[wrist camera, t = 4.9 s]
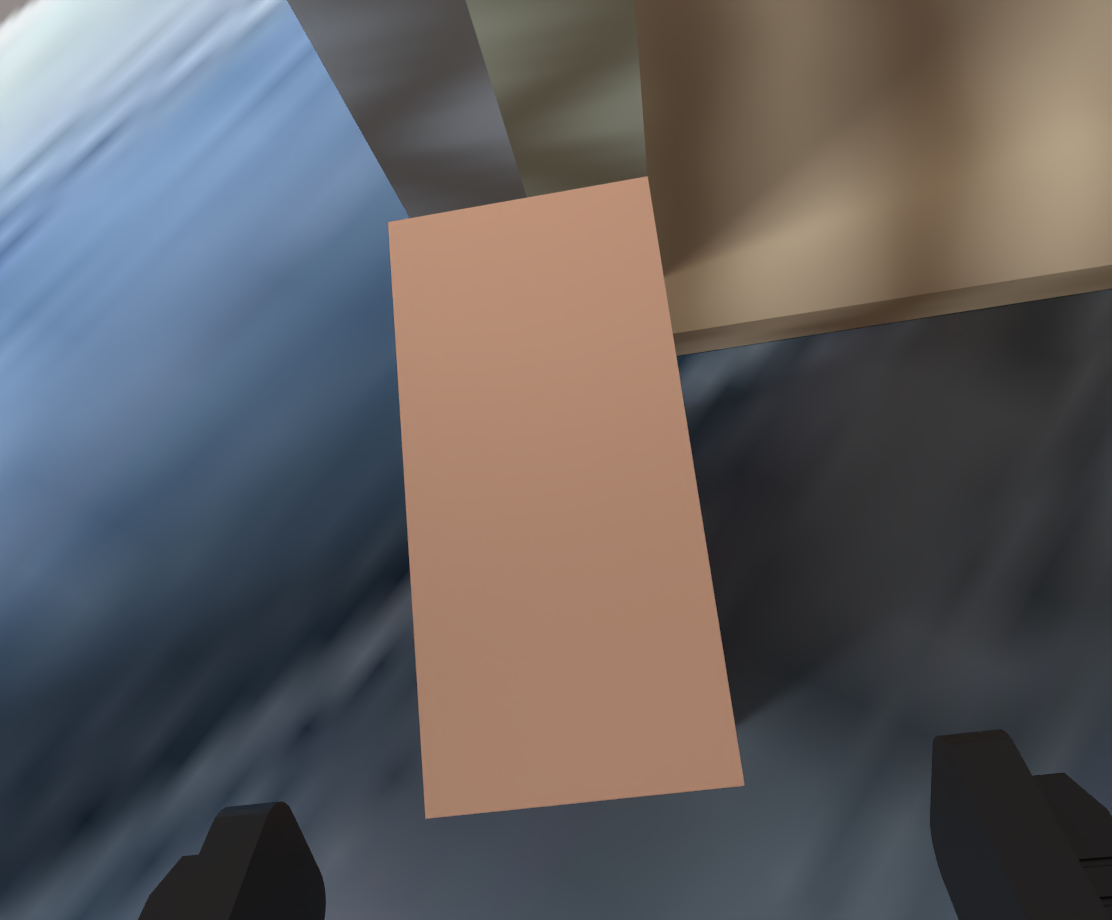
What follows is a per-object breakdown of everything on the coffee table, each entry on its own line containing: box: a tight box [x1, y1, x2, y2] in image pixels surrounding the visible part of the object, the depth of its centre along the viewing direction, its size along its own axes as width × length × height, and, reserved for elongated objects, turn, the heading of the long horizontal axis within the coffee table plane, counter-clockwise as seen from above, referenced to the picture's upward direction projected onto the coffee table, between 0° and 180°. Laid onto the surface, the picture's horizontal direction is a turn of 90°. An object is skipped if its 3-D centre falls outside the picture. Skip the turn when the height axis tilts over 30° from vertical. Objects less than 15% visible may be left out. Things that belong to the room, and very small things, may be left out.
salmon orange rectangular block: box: [388, 176, 745, 819], centre depth 16 cm, size 4×8×12 cm, turn 6°
